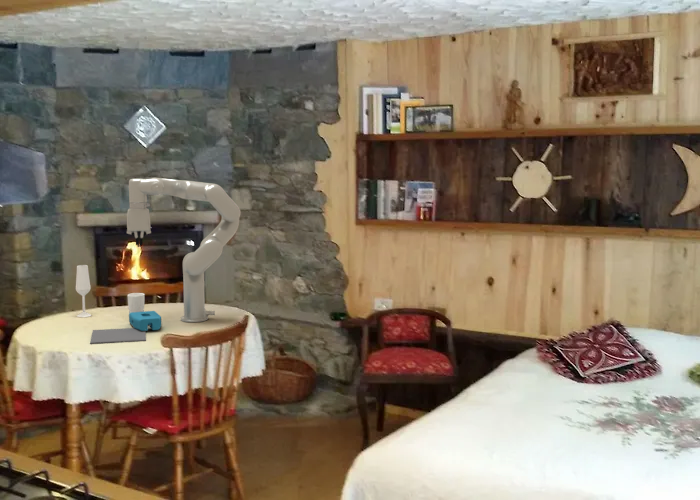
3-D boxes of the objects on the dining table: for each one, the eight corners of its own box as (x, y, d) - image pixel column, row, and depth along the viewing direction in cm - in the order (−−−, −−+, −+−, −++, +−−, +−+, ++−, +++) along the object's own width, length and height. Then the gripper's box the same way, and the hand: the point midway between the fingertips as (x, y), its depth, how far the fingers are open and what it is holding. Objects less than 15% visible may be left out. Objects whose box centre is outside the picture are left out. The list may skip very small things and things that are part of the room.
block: (135, 319, 328) (128, 312, 346) (136, 331, 328) (129, 323, 346) (163, 317, 333) (155, 310, 351) (164, 329, 333) (155, 321, 351)
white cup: (148, 314, 365) (148, 294, 364) (135, 317, 358) (135, 296, 357) (137, 312, 369) (136, 292, 368) (124, 315, 363) (123, 294, 361)
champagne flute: (86, 317, 357) (84, 267, 354) (73, 316, 359) (71, 266, 356) (94, 314, 364) (92, 265, 360) (82, 313, 365) (80, 264, 362)
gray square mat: (145, 328, 337) (145, 327, 337) (145, 340, 316) (145, 339, 316) (92, 331, 331) (92, 330, 331) (90, 344, 310) (90, 342, 310)
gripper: (155, 205, 347) (156, 245, 350) (121, 205, 343) (122, 245, 346) (155, 206, 340) (156, 247, 343) (120, 207, 336) (121, 248, 339)
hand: (139, 246), depth 344 cm, fingers closed
